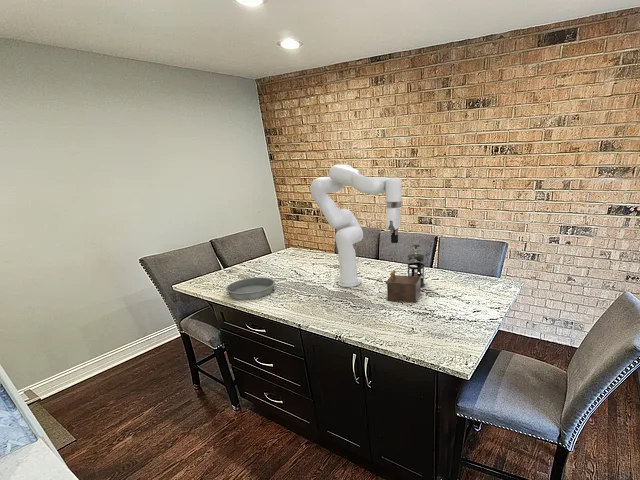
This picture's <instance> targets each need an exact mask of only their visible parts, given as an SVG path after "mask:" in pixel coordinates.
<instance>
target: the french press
mask: <svg viewBox="0 0 640 480" xmlns="http://www.w3.org/2000/svg"><path fill="white" fill-rule="evenodd" d="M411 247H414V249H415V250H417V249H418V248H419V247H421V245H420V244H412V245H411ZM407 257H408V261H411V260H415V262H410V263H408V264H407V276H414V277H421V288H423V287H425V264H424V263H423V262H424V258H425V255H424V254H421V253H412V254H408V255H407ZM410 270H411V272H410Z"/></svg>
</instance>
